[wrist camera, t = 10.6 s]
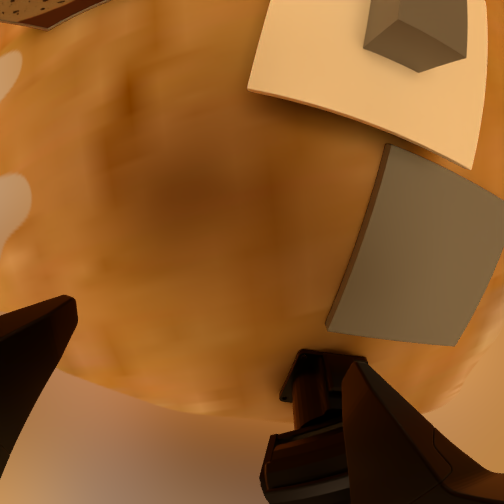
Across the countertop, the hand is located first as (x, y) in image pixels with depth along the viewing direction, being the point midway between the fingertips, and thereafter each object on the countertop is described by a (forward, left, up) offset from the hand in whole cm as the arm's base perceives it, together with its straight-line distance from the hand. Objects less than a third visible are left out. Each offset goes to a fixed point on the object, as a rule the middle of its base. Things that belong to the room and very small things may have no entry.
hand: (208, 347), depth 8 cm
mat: (+1, -15, -12) cm, 19 cm away
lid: (+14, -5, -7) cm, 16 cm away
